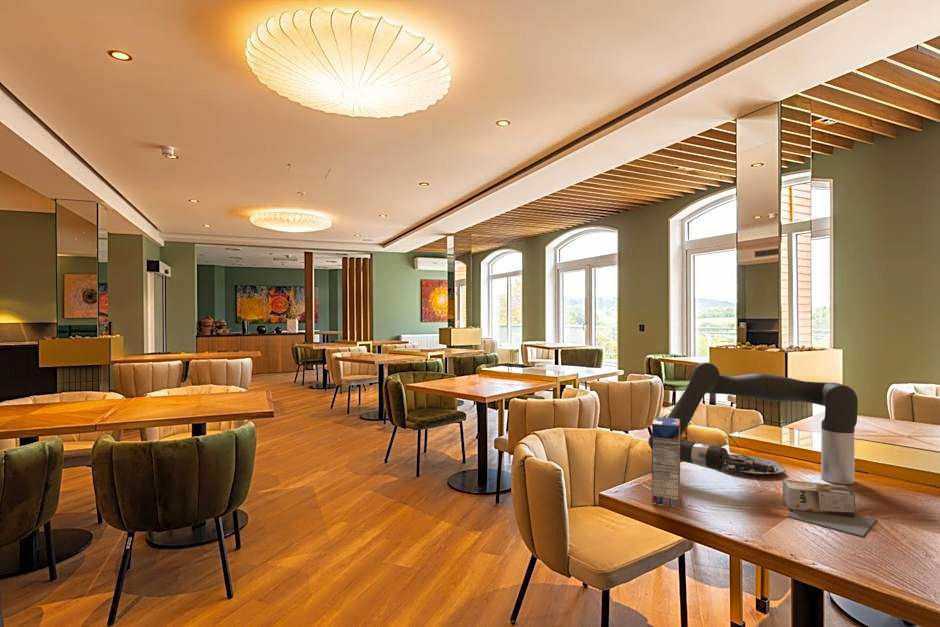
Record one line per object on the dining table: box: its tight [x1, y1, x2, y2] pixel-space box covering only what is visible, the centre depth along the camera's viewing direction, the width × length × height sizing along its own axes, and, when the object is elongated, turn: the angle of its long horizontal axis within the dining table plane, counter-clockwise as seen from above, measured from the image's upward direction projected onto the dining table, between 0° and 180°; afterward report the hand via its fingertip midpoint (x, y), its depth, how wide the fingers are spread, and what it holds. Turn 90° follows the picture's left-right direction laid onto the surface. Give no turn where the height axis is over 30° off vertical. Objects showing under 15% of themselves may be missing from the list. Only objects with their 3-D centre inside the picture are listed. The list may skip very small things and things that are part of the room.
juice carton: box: [651, 416, 681, 508], centre depth 154 cm, size 12×8×24 cm, turn 156°
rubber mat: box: [786, 509, 877, 538], centre depth 140 cm, size 16×17×1 cm
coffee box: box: [782, 479, 856, 517], centre depth 147 cm, size 9×6×16 cm
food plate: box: [725, 453, 786, 476], centre depth 186 cm, size 25×23×4 cm
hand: (767, 469), depth 152 cm, fingers closed
